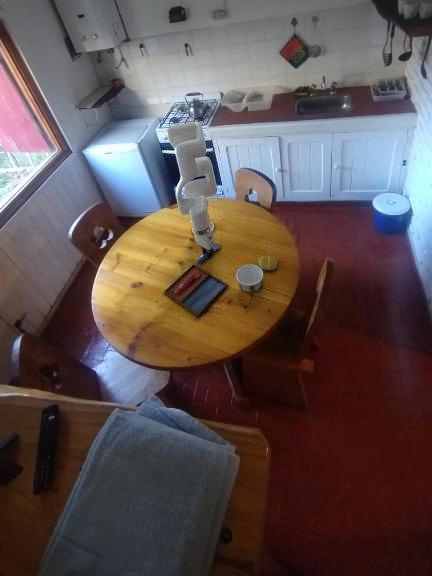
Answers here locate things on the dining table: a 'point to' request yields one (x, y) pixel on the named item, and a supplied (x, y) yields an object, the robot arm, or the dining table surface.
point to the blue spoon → (206, 254)
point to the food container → (250, 277)
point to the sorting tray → (197, 290)
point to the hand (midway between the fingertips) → (208, 254)
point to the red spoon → (187, 282)
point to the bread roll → (268, 262)
